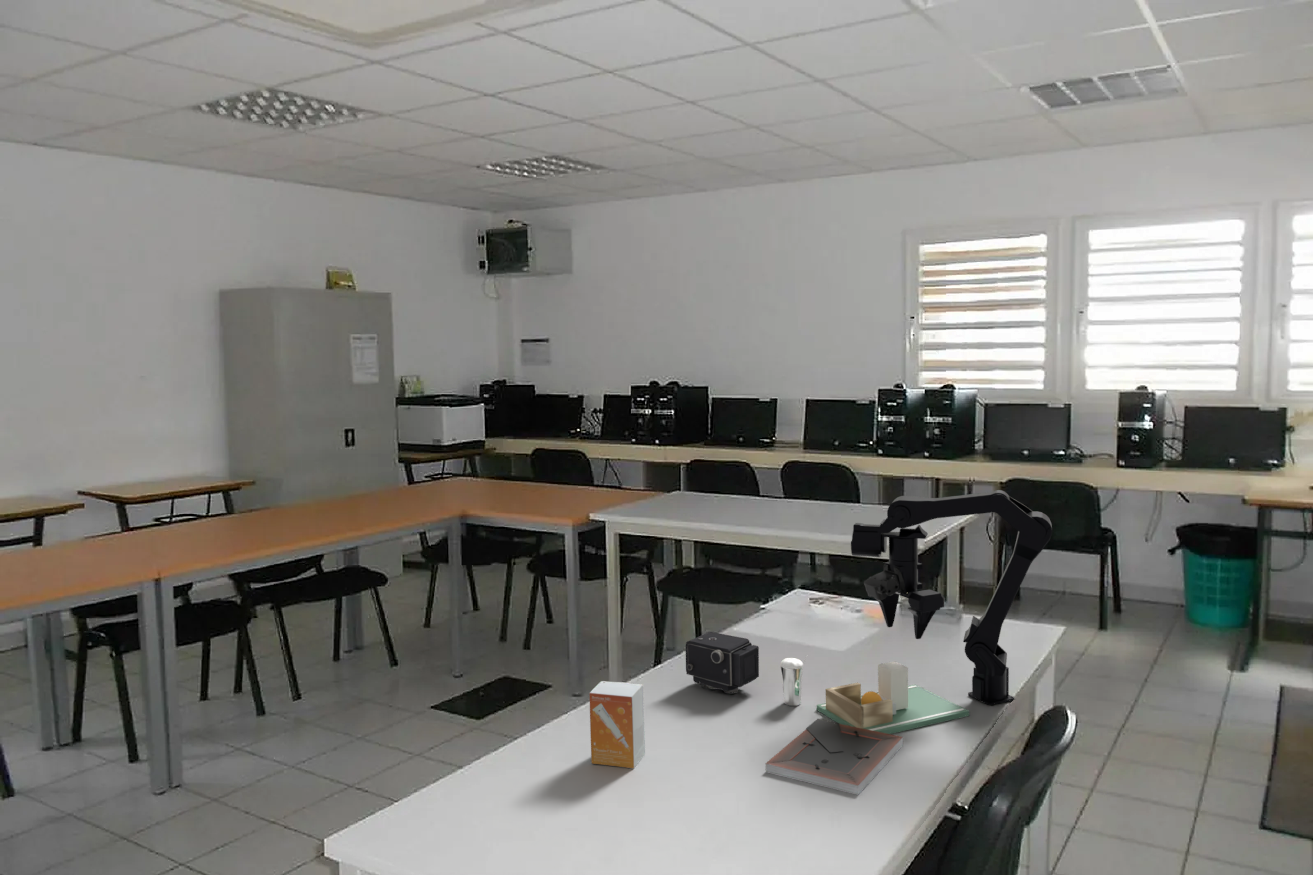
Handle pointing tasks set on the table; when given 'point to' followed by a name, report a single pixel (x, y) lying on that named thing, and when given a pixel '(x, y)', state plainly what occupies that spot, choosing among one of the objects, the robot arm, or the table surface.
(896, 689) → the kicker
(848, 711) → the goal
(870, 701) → the ball
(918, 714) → the board
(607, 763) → the small box
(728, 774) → the table surface
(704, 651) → the camera
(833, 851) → the table surface
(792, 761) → the book
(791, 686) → the milkshake
